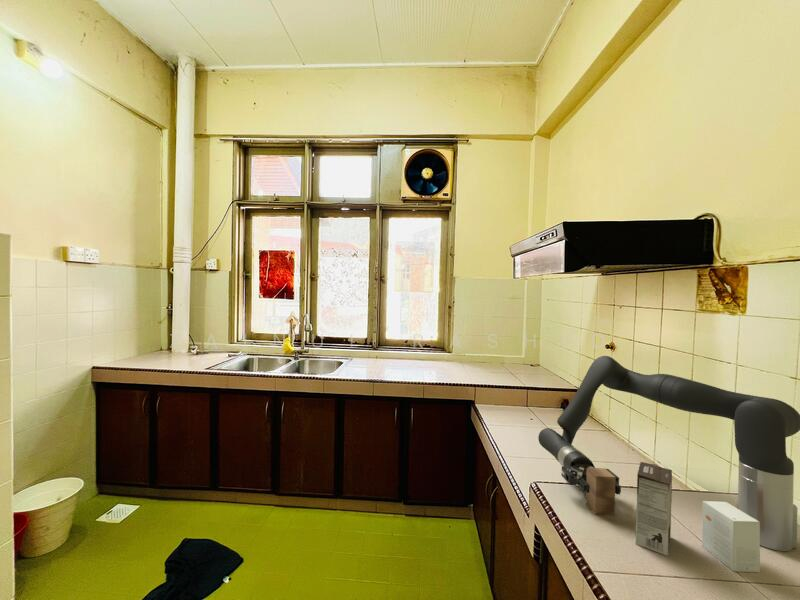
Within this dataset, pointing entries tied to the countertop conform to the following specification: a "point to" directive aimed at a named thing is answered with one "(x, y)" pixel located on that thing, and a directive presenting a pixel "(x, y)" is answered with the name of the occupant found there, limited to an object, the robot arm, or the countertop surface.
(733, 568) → the small box
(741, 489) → the robot arm
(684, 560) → the countertop surface
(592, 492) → the walnut block
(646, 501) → the coffee box
